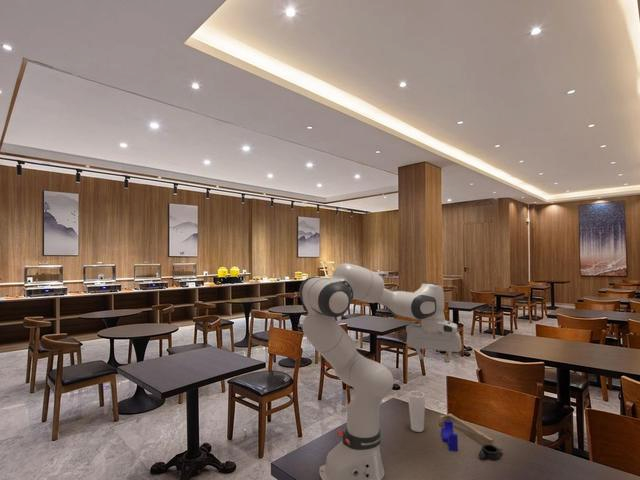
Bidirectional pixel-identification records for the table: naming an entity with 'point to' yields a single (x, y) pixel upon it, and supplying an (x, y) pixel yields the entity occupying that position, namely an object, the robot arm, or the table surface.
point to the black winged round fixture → (489, 452)
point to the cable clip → (449, 436)
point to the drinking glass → (417, 410)
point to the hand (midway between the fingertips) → (433, 360)
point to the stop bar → (466, 429)
